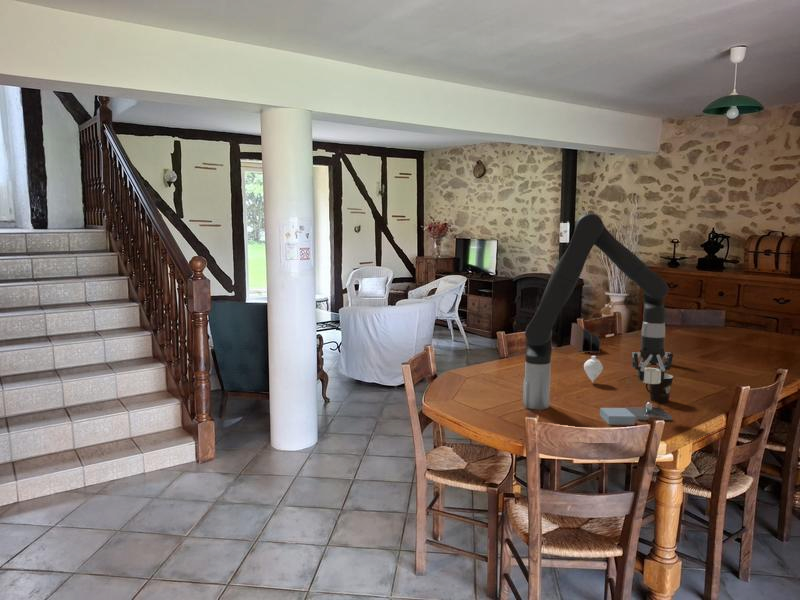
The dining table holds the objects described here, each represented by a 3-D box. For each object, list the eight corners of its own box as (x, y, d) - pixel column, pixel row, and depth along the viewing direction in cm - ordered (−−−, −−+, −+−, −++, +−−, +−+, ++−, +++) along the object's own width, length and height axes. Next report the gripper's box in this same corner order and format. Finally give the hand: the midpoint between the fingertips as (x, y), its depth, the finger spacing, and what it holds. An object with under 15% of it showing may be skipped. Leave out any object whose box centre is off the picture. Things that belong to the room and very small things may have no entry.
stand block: (608, 424, 194) (608, 416, 194) (599, 415, 203) (600, 407, 203) (634, 424, 194) (635, 416, 194) (625, 416, 203) (625, 408, 203)
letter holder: (581, 353, 302) (582, 327, 300) (570, 345, 322) (571, 321, 320) (600, 353, 302) (601, 327, 300) (587, 345, 322) (588, 321, 320)
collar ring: (645, 384, 199) (646, 371, 198) (638, 379, 205) (639, 367, 204) (662, 384, 199) (663, 371, 198) (655, 379, 204) (656, 367, 204)
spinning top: (589, 386, 241) (591, 358, 239) (579, 381, 248) (580, 354, 246) (605, 384, 243) (606, 357, 241) (594, 380, 250) (596, 353, 248)
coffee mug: (664, 397, 225) (666, 372, 224) (675, 403, 217) (677, 378, 216) (635, 397, 225) (637, 372, 224) (645, 404, 217) (647, 378, 215)
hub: (637, 420, 199) (637, 406, 198) (626, 411, 208) (627, 397, 208) (671, 420, 198) (672, 406, 198) (659, 411, 208) (660, 398, 208)
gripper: (636, 336, 196) (634, 384, 198) (678, 336, 195) (676, 384, 198) (628, 332, 203) (626, 378, 206) (669, 332, 203) (666, 378, 205)
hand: (650, 380), depth 202 cm, fingers closed on collar ring, 6 cm apart
